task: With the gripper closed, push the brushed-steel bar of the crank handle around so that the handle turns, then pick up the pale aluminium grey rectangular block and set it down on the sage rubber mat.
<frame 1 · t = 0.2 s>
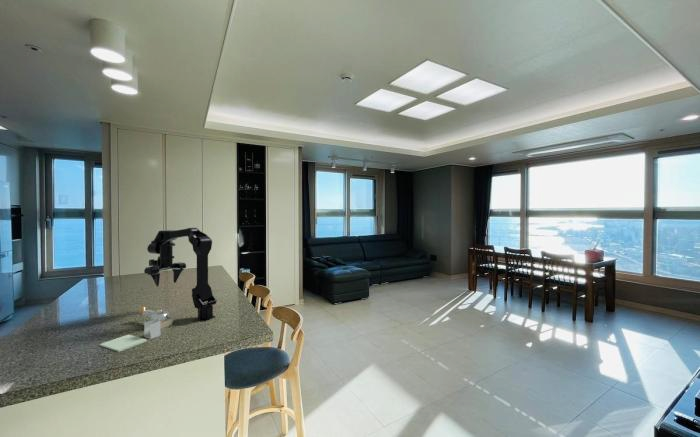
hand: (166, 284, 151), 14 cm above the counter, tool pointing down, fingers open, 9 cm apart
crank handle: (152, 313, 134), point 5 cm above the counter, hinge at 0.0°
mat: (124, 343, 113), on the counter
grey rectangular block: (152, 336, 121), on the counter
chuck base: (159, 325, 132), on the counter
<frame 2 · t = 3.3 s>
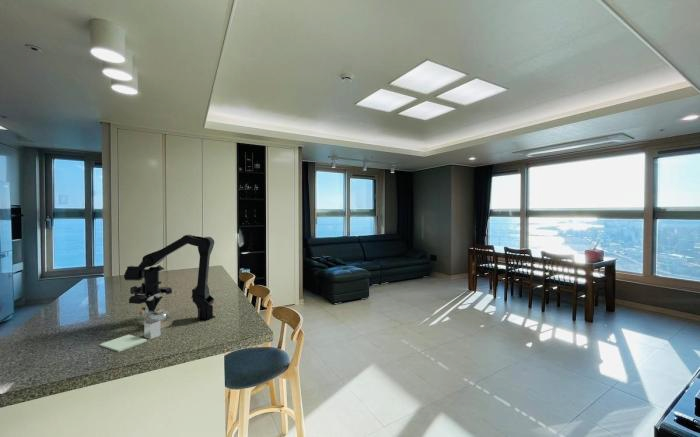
hand: (151, 312, 138), 4 cm above the counter, tool pointing down, fingers closed
crank handle: (152, 313, 134), point 5 cm above the counter, hinge at 0.3°, touching gripper
everything else where it was.
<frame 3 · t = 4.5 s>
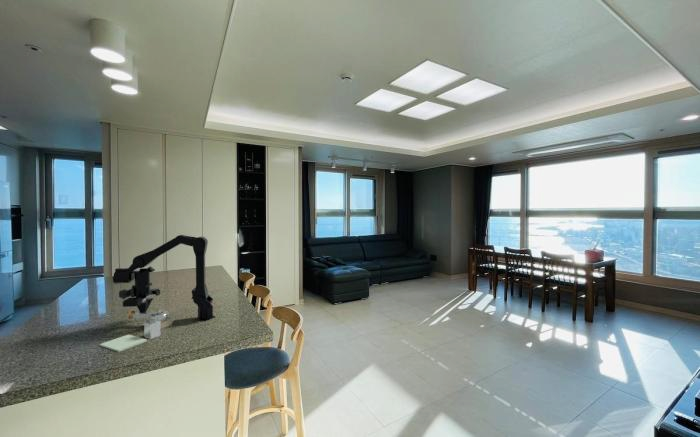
hand: (142, 315, 134), 4 cm above the counter, tool pointing down, fingers closed
crank handle: (148, 314, 132), point 5 cm above the counter, hinge at 25.3°, touching gripper
everything else where it was.
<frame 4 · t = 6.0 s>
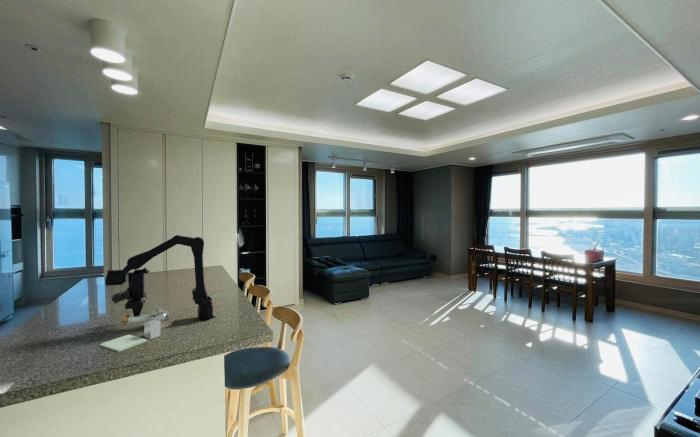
hand: (136, 318, 130), 4 cm above the counter, tool pointing down, fingers closed
crank handle: (146, 316, 130), point 5 cm above the counter, hinge at 52.1°
everything else where it was.
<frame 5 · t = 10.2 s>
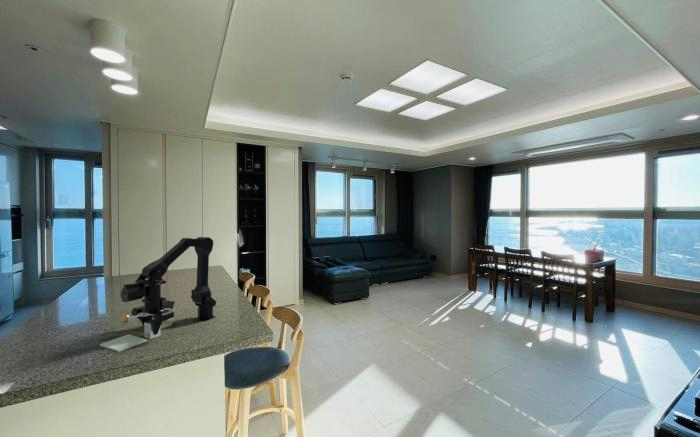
hand: (152, 333, 121), 1 cm above the counter, tool pointing down, fingers closed on grey rectangular block, 4 cm apart
grey rectangular block: (152, 336, 121), on the counter, touching gripper
everything else where it was.
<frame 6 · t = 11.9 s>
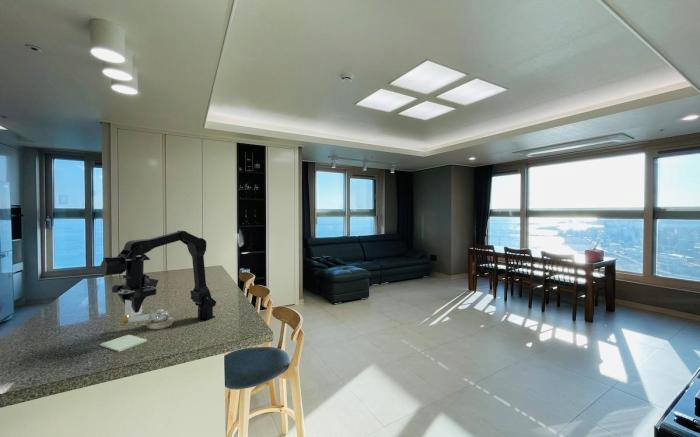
hand: (133, 311, 115), 12 cm above the counter, tool pointing down, fingers closed on grey rectangular block, 4 cm apart
grey rectangular block: (133, 314, 115), point 11 cm above the counter, touching gripper
everything else where it was.
when the fingers open (3 cm above the counter, at t = 13.9 s): grey rectangular block drops 2 cm, resting on mat.
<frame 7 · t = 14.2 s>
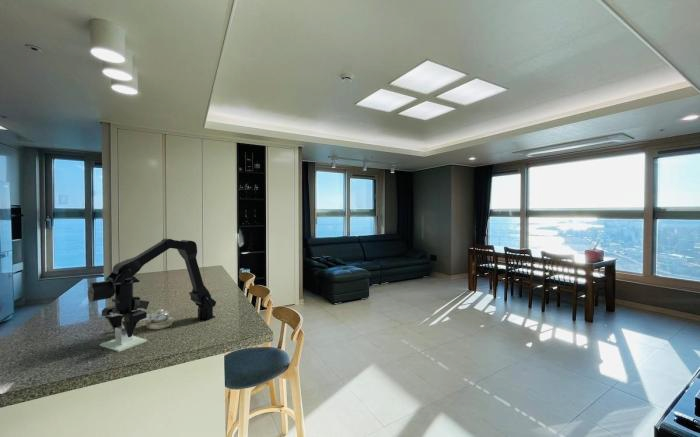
hand: (124, 335, 113), 3 cm above the counter, tool pointing down, fingers open, 7 cm apart
grey rectangular block: (124, 341, 113), point 1 cm above the counter, touching mat
everything else where it was.
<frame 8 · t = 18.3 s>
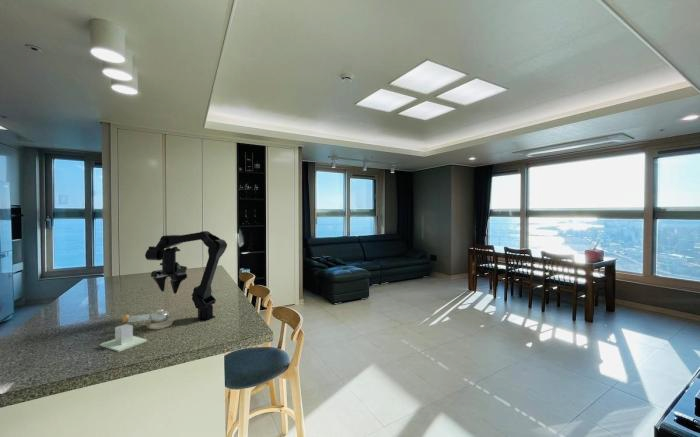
hand: (168, 292, 143), 12 cm above the counter, tool pointing down, fingers open, 9 cm apart
nothing on the counter moved.
at the end: crank handle at +52° (first picture: +0°); grey rectangular block inside the target area on the mat (0.0 cm from its centre), point 0.6 cm above the mat's base; grey rectangular block tilted 0° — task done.
